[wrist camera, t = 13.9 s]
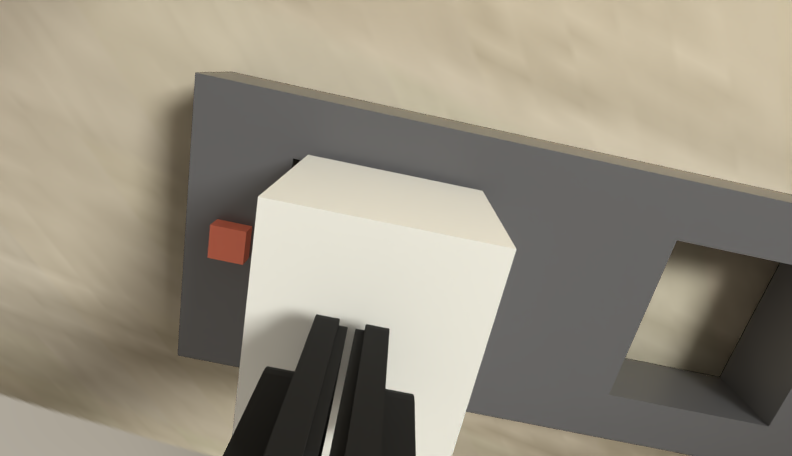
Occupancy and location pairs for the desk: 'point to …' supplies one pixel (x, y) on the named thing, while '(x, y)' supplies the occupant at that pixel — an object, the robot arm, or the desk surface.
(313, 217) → the plug
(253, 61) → the desk surface
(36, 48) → the desk surface
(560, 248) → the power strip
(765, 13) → the desk surface
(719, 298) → the desk surface
